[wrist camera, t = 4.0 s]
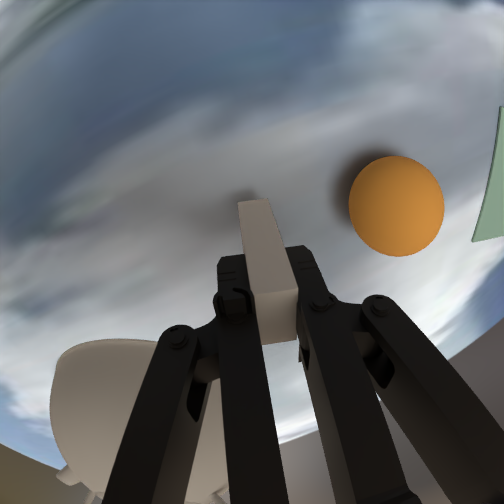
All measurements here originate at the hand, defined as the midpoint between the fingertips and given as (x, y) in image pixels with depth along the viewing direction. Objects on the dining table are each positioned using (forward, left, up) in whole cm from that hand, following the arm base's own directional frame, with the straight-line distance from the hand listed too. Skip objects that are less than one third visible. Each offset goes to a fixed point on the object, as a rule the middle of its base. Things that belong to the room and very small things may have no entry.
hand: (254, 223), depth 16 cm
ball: (0, +8, +1) cm, 8 cm away
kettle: (+22, -14, -3) cm, 26 cm away
